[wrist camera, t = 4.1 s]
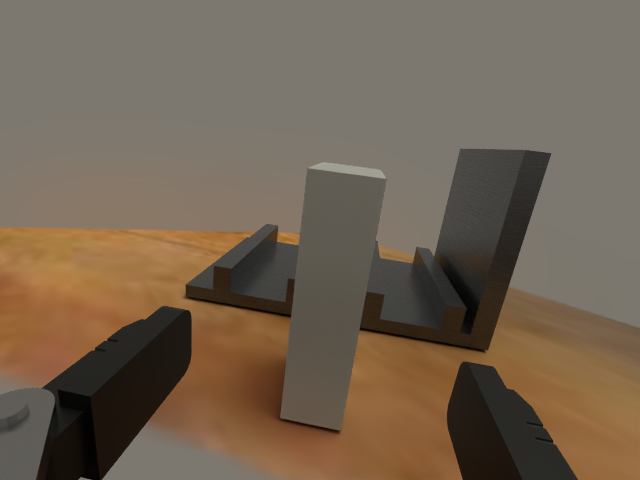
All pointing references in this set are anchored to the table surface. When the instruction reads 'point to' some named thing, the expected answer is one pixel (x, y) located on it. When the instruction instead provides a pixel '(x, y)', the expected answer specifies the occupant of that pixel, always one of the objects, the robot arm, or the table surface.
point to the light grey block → (330, 290)
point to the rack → (426, 271)
